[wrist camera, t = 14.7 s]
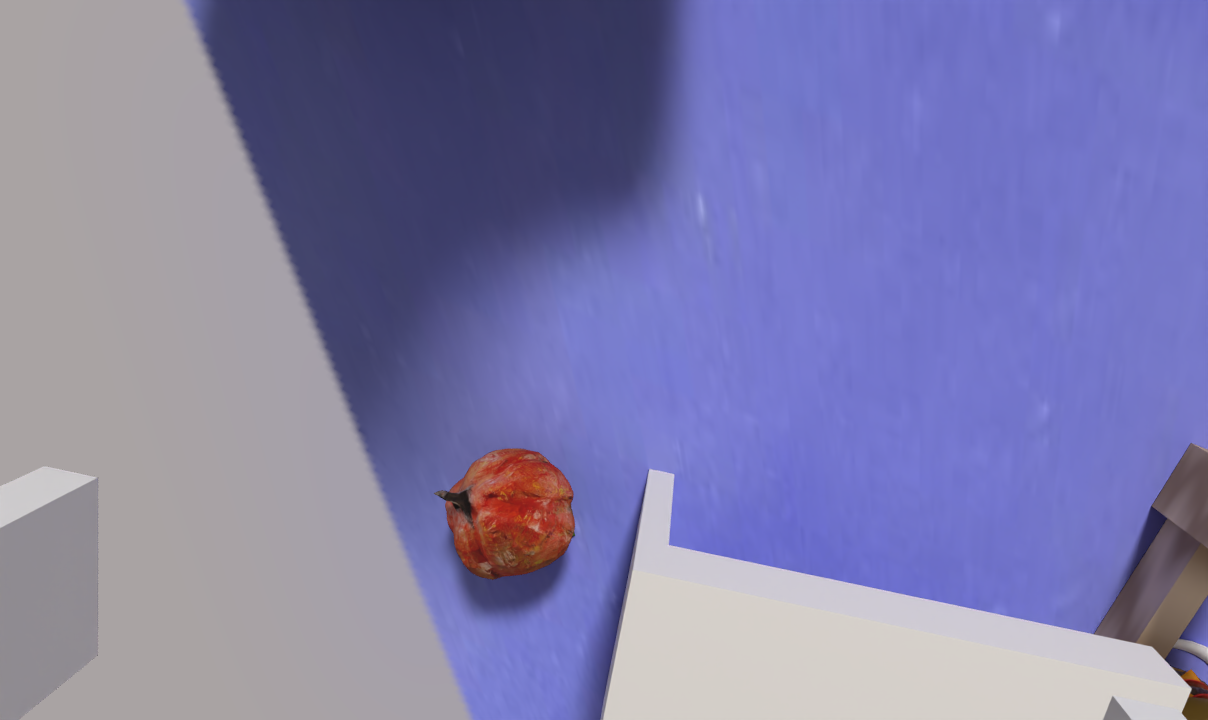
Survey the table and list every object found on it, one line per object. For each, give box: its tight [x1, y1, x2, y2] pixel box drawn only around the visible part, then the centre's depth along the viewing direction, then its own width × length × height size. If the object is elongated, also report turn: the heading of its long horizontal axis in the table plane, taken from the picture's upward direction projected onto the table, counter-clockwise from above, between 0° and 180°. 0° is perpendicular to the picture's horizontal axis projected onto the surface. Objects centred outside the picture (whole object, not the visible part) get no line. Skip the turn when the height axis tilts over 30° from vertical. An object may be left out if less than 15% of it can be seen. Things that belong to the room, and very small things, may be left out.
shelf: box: [600, 469, 1192, 720], centre depth 42 cm, size 16×24×12 cm, turn 80°
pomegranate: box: [434, 449, 575, 580], centre depth 44 cm, size 7×7×10 cm
